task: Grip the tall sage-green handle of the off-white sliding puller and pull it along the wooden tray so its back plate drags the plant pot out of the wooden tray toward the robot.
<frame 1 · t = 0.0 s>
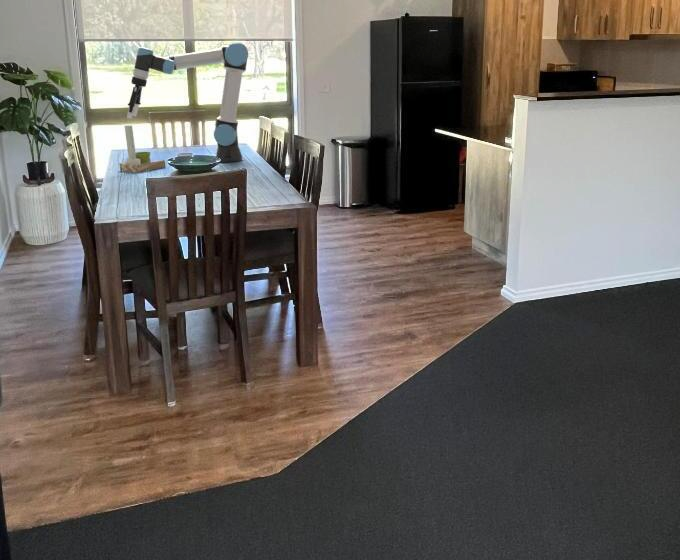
hand: (131, 117, 394), 28 cm above the table, tool tilted 20°, fingers open, 13 cm apart
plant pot: (143, 169, 403), on the table
puller: (131, 147, 395), point 12 cm above the table, slide at 0.0 cm
wooden tray: (143, 168, 403), on the table
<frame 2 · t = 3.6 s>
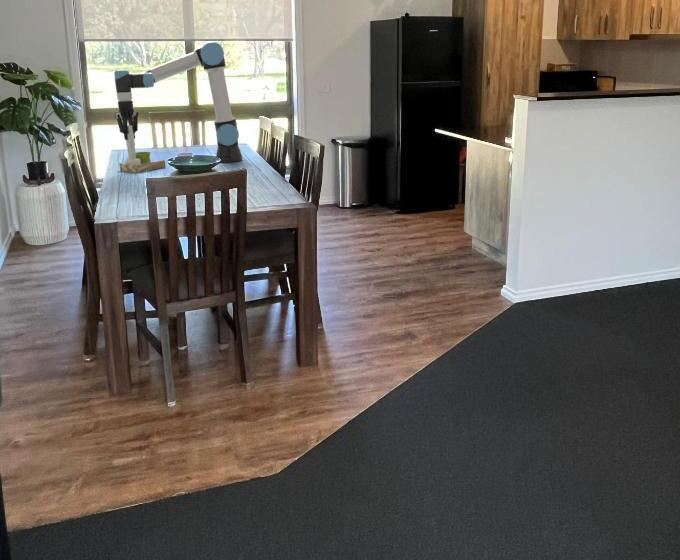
hand: (130, 145, 394), 13 cm above the table, tool pointing down, fingers closed on puller, 2 cm apart
puller: (131, 147, 395), point 12 cm above the table, slide at 0.0 cm, touching gripper
everything else where it was.
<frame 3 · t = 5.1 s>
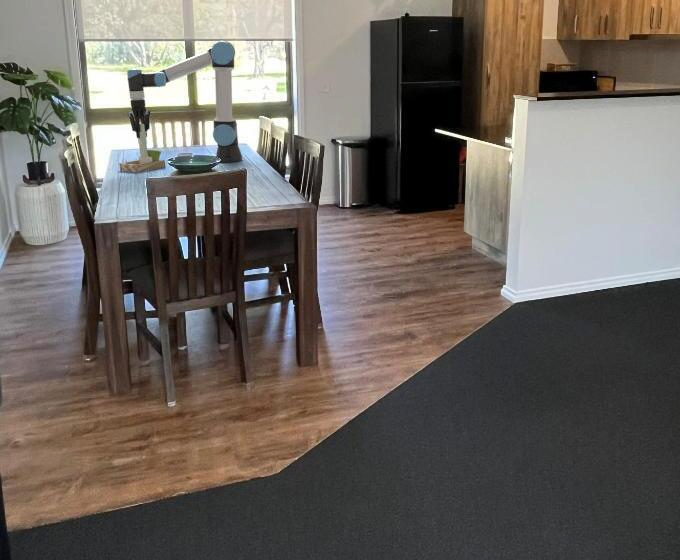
hand: (142, 143, 400), 13 cm above the table, tool pointing down, fingers closed on puller, 2 cm apart
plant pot: (151, 166, 406), on the table, touching puller
puller: (143, 145, 400), point 12 cm above the table, slide at 7.6 cm, touching gripper, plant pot
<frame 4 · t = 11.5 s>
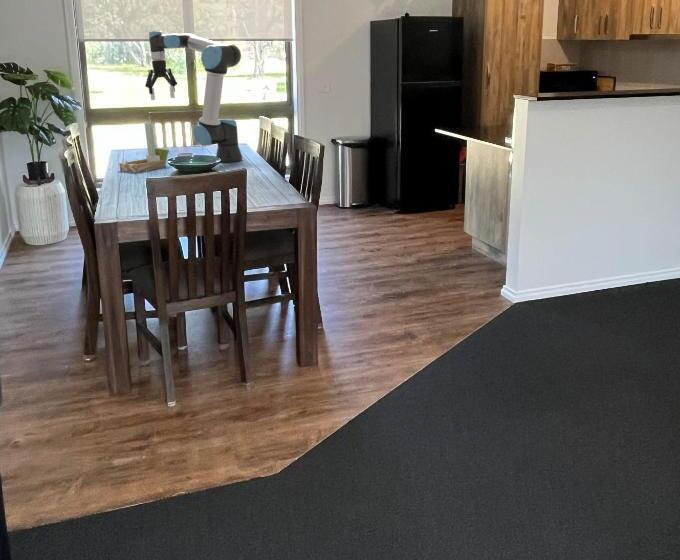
hand: (163, 99, 419), 35 cm above the table, tool pointing down, fingers open, 13 cm apart
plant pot: (159, 165, 410), on the table, touching puller
puller: (150, 144, 404), point 12 cm above the table, slide at 12.7 cm, touching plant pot
at the end: puller slide at 12.7 cm; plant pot inside the target area (1.7 cm from its centre), on the table; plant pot tilted 12° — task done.
